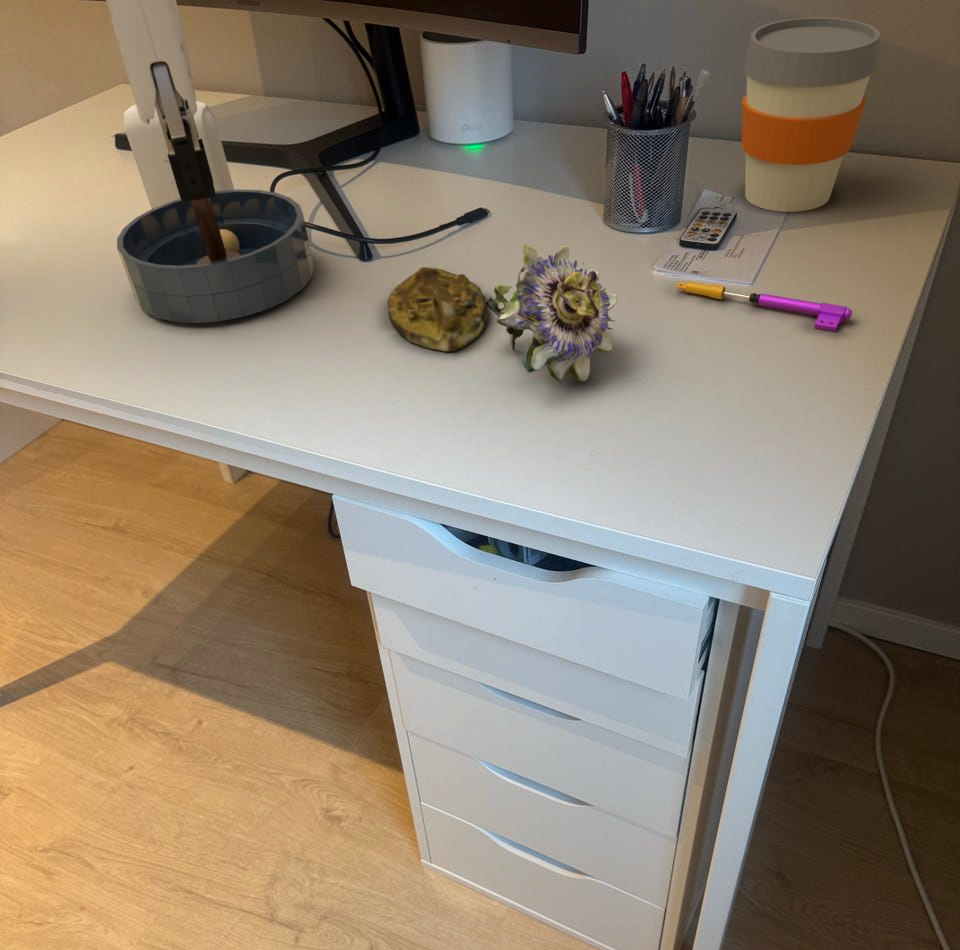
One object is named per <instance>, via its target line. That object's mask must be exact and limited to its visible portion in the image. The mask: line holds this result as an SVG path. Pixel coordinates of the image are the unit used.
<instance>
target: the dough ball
mask: <svg viewBox="0 0 960 950" xmlns="http://www.w3.org/2000/svg"><path fill="white" fill-rule="evenodd" d="M220 233H221V236H222V240H223V243H224V247H225V250H226V252H236V253H238V252H239V248H240V246H239V241H238V239H237V237H236V236H235V234H234V233H232V232H231V231H229V230H225V229H221V230H220Z"/></svg>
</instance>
